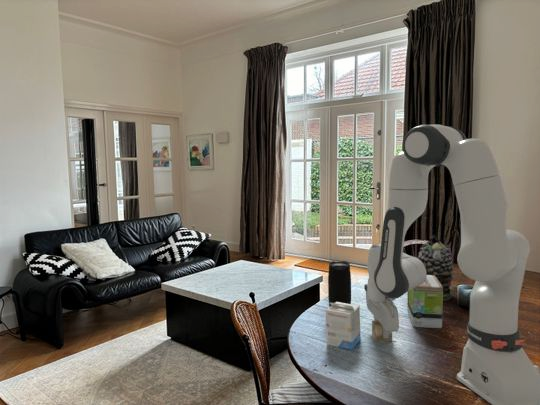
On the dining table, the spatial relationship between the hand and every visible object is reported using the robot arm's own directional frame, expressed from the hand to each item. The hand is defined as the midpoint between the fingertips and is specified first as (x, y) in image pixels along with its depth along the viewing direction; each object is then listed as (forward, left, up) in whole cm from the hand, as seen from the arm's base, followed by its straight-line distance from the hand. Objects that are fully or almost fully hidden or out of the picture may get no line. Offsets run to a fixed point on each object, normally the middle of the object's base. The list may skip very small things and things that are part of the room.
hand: (381, 333), depth 133 cm
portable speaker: (+23, +8, -2) cm, 24 cm away
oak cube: (0, 0, -2) cm, 2 cm away
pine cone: (+36, -36, -2) cm, 51 cm away
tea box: (+12, -20, -2) cm, 23 cm away
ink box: (-1, +13, -2) cm, 13 cm away
